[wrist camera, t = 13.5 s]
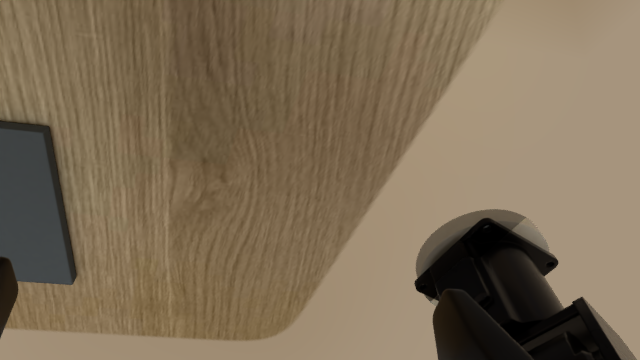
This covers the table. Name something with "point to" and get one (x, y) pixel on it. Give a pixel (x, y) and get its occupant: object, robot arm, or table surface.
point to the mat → (32, 207)
